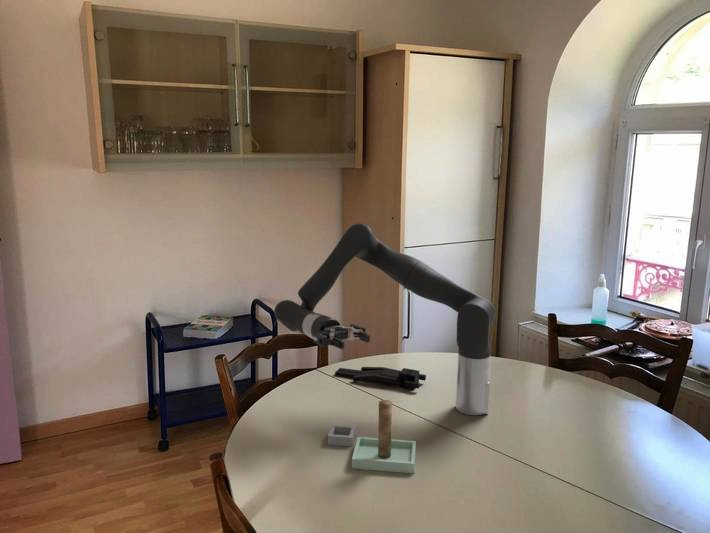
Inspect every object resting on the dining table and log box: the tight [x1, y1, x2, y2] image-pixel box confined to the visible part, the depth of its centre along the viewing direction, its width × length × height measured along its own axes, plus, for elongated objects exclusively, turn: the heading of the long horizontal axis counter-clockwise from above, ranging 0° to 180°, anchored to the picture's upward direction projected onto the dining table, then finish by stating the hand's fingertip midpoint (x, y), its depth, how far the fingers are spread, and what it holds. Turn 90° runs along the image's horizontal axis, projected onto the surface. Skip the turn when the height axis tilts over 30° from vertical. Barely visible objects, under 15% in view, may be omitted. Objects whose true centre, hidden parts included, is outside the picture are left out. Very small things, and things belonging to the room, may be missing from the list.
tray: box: [351, 436, 417, 474], centre depth 148 cm, size 15×11×2 cm
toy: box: [334, 366, 427, 391], centre depth 196 cm, size 9×6×30 cm
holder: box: [327, 424, 357, 447], centre depth 157 cm, size 6×6×2 cm
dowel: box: [377, 399, 393, 459], centre depth 146 cm, size 3×3×14 cm
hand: (356, 341), depth 156 cm, fingers open, 8 cm apart
